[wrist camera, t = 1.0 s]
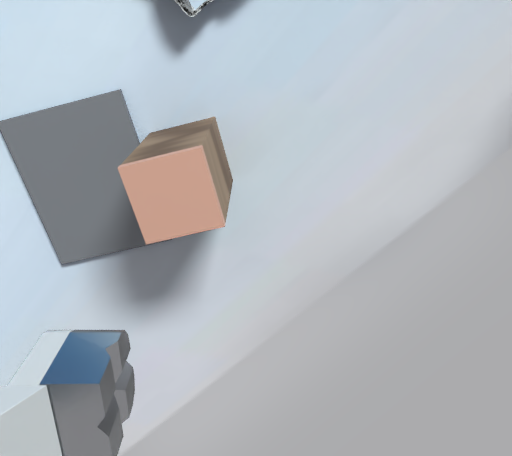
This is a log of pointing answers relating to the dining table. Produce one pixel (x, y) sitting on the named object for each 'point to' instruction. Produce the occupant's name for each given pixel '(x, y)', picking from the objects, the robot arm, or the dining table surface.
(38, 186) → the charcoal mat
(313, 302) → the dining table surface
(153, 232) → the brown rectangular block
